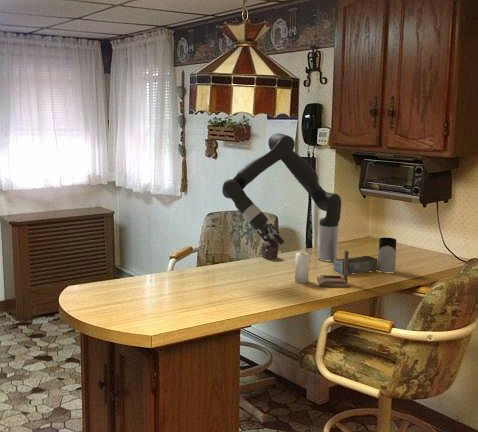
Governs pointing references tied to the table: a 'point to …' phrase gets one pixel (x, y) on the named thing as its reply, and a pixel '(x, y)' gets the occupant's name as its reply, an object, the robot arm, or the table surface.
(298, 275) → the paper roll
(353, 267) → the beverage carton
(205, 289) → the table surface
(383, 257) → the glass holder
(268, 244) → the box
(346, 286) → the walnut holder
